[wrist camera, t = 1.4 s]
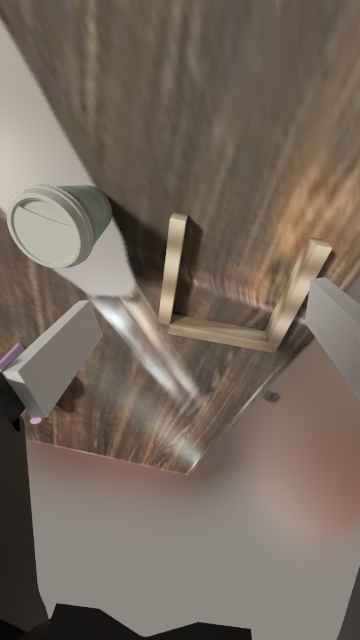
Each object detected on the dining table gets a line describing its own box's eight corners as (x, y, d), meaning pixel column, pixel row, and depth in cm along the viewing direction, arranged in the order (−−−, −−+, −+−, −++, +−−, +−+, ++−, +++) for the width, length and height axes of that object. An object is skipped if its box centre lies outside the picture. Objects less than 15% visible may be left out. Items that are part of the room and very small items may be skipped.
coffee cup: (134, 215, 33) (103, 243, 24) (95, 250, 37) (55, 286, 27) (87, 157, 30) (28, 162, 20) (50, 202, 34) (-15, 224, 24)
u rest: (173, 212, 33) (170, 217, 30) (322, 239, 33) (332, 247, 30) (160, 320, 44) (157, 331, 41) (271, 340, 44) (274, 352, 42)
